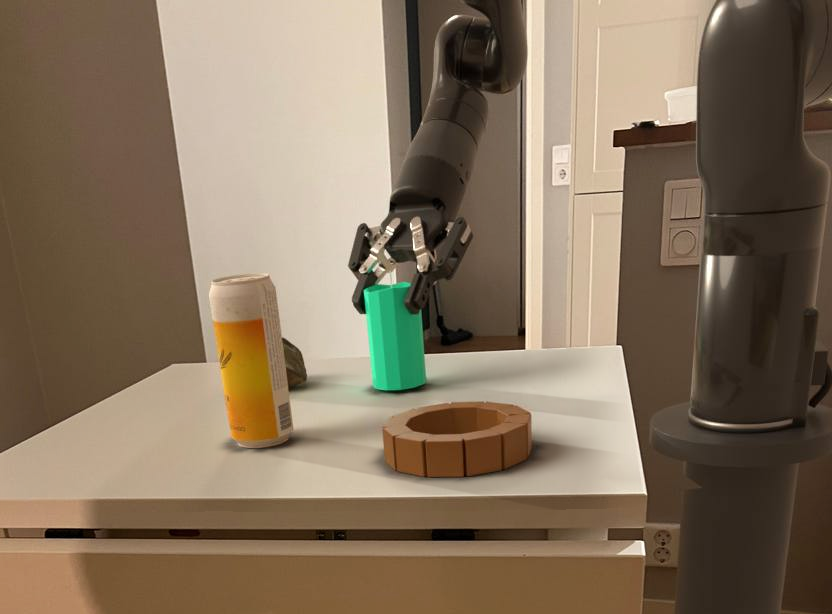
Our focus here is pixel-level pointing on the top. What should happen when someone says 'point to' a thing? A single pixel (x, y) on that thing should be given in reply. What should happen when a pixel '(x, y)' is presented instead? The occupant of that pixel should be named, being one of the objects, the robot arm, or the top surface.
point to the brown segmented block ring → (457, 439)
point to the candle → (394, 338)
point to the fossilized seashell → (293, 364)
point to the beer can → (251, 359)
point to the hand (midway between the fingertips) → (384, 309)
